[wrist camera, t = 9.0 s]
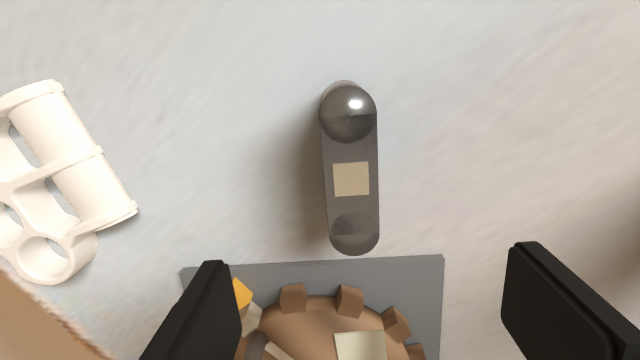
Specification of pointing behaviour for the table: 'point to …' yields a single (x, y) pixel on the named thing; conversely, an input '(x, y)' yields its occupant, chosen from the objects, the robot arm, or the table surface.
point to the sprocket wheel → (323, 329)
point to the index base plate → (367, 274)
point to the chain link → (350, 167)
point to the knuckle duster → (69, 176)
